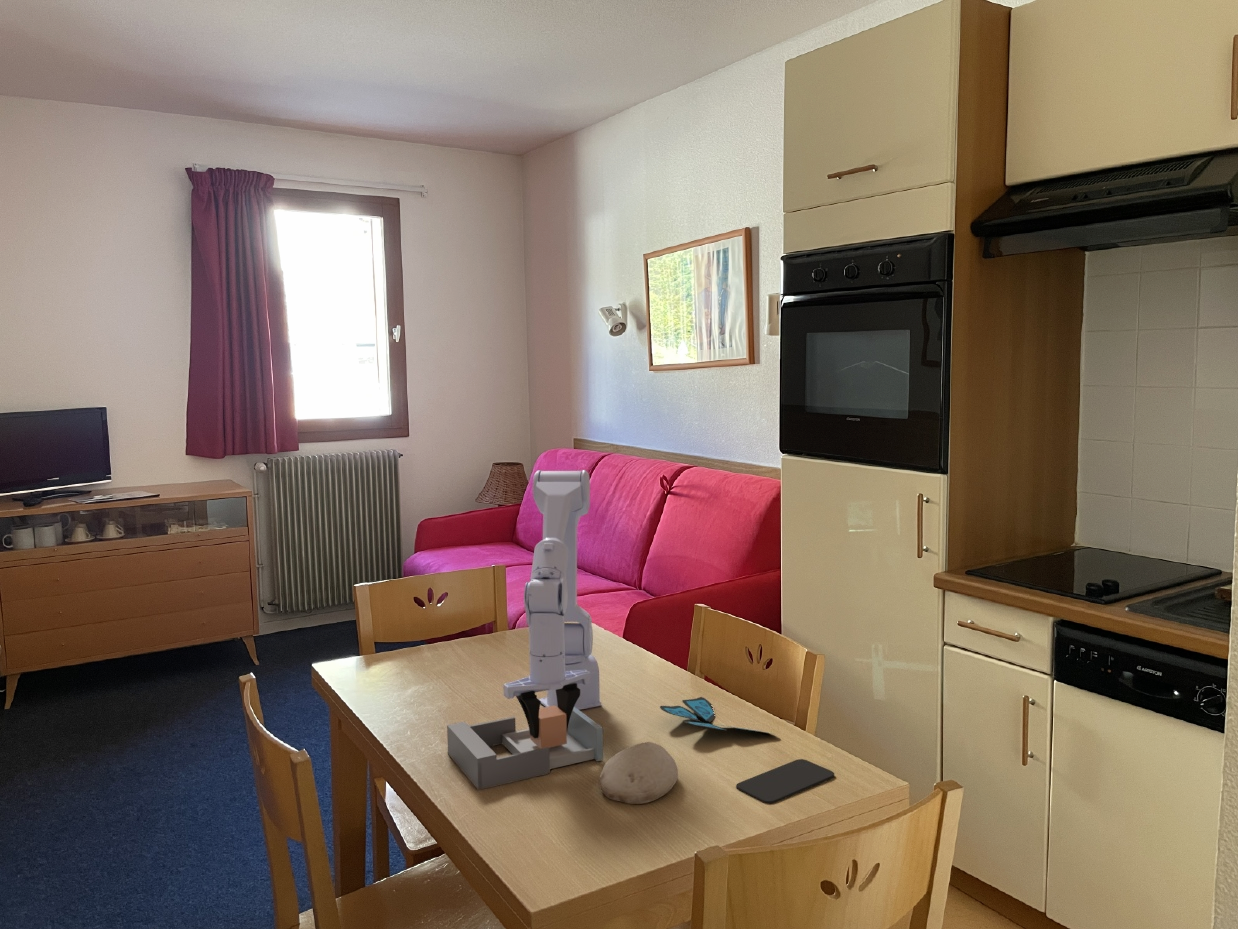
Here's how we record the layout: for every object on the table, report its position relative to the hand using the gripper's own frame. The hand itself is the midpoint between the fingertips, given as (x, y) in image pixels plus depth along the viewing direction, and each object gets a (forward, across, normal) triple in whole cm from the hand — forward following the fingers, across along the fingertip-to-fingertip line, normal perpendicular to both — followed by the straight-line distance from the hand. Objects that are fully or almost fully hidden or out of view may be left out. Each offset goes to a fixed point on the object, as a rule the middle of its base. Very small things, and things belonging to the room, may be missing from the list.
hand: (548, 733), depth 150 cm
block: (+2, 0, 0) cm, 2 cm away
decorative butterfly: (+4, +29, -4) cm, 29 cm away
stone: (+4, +7, -18) cm, 20 cm away
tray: (+3, -1, 0) cm, 3 cm away
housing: (+3, -9, 0) cm, 9 cm away
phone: (+4, +27, -28) cm, 39 cm away
